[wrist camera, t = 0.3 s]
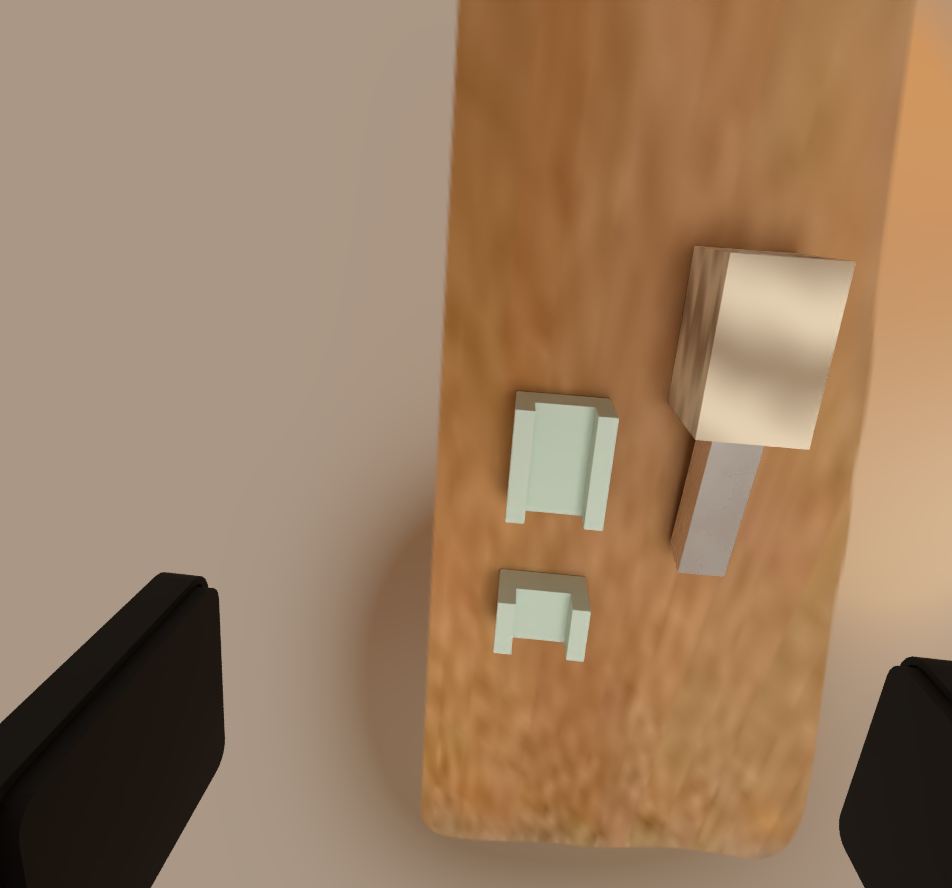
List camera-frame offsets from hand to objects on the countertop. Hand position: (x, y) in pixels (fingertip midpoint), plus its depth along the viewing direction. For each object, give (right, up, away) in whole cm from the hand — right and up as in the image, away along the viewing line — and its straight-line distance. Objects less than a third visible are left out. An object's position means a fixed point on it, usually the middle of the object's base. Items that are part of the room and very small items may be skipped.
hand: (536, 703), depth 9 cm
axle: (+15, +3, +33) cm, 36 cm away
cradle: (+4, -1, +38) cm, 38 cm away
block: (+15, +11, +33) cm, 38 cm away
